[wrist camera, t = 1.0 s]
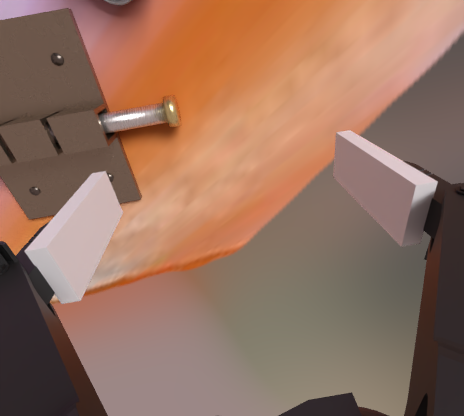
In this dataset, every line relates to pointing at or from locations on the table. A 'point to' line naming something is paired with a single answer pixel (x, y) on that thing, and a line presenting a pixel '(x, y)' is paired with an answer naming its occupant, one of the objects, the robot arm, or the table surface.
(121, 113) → the pin
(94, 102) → the hinge
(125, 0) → the ceramic mug
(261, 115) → the table surface
